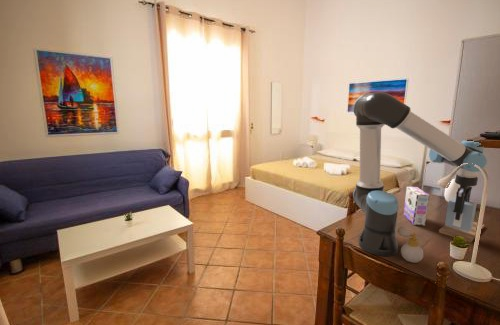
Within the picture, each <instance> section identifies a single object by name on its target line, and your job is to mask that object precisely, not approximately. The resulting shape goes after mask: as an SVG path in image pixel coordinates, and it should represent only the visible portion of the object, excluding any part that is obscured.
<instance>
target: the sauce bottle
mask: <svg viewBox="0 0 500 325" xmlns="http://www.w3.org/2000/svg"><path fill="white" fill-rule="evenodd" d="M456 175H457V174H456ZM456 175H454V178H452V179H451V181H450V182H451V183H450V185H449V187H448V188H446V187H445V189H444V199H445V201H446V202H447V203H448V202H449V200H451V199H452V198H453V199H456V194H457V193H456V192H457V191H458V188H460V185H459V184H457V183H455V178H456Z"/></svg>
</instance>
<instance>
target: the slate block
mask: <svg viewBox="0 0 500 325" xmlns="http://www.w3.org/2000/svg"><path fill="white" fill-rule="evenodd" d="M455 202H456V199H453V198H452V199H451V200H449V202H448V201H447V208H446V215H445V221H444V225H447V226H450V227H454V228H457V229H461V230H464V231H468V232H470V230H471V229H472V227H473V222H475V217H476V216H475V215H476V209H477V204H478V203H475V202H471V201H469V202H466V201H465V203H464V208H463V216H462V222H461V227H457V226H454V225H453V221H454V215H455V212H453V211H454V207H455Z"/></svg>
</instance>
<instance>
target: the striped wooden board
mask: <svg viewBox="0 0 500 325" xmlns="http://www.w3.org/2000/svg"><path fill="white" fill-rule="evenodd" d="M477 223H478V222H476V221H474V222H473V227H472V229H471V230H470V232H468V231H464V230H461V229H457V228H454V227H450V226H447V225H445V224H444V225H443V226H442V227H441V228H440V229H438V233H439V234H442V235H446V236H449V237H452V238H455V236H461V237H464V238H465V239H466V241H465V242H469V243H472V242H473V241H474V239H475V238H476V237H475V234H476V228H477ZM482 224H483V225H482V230H483V229H484V228H485V224H484V223H482Z"/></svg>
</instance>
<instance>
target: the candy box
mask: <svg viewBox="0 0 500 325" xmlns="http://www.w3.org/2000/svg"><path fill="white" fill-rule="evenodd" d="M429 202H430V194H429V193H427V192H426V191H424V190H422V189H421V188H419V187H418V186H406V189H405V198H404V206H403V216H404V217H405V218H406V219H407V220H408V221H409V222H410V223H411V224H412V225H413V226H426V223H427V215H428V210H429V209H428V208H429Z"/></svg>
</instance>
